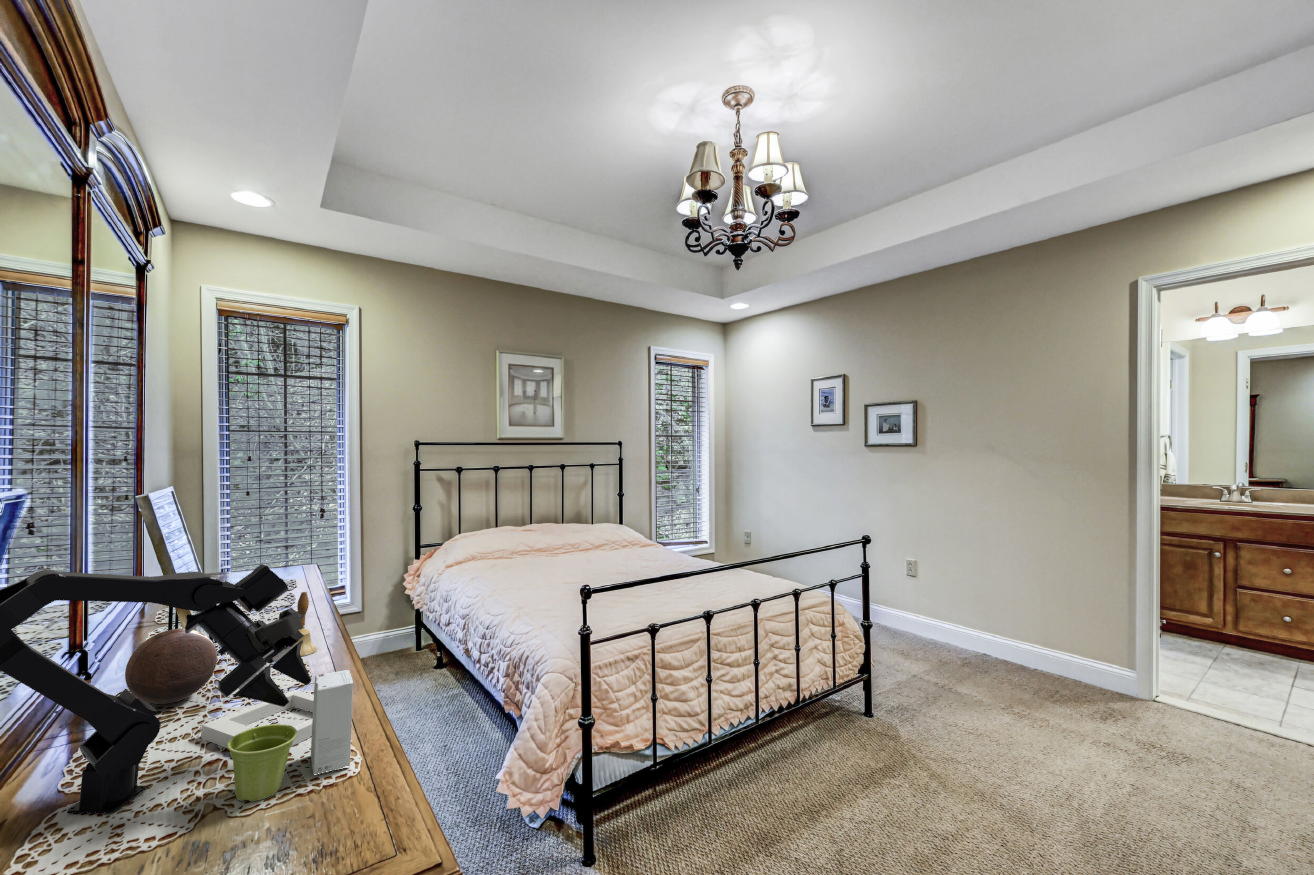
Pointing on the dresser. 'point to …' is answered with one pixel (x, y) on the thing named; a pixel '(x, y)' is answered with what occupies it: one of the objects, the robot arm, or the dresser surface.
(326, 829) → the dresser surface
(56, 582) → the robot arm
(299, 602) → the hand bell
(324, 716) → the skincare box
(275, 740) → the plant pot
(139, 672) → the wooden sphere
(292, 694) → the white square frame
